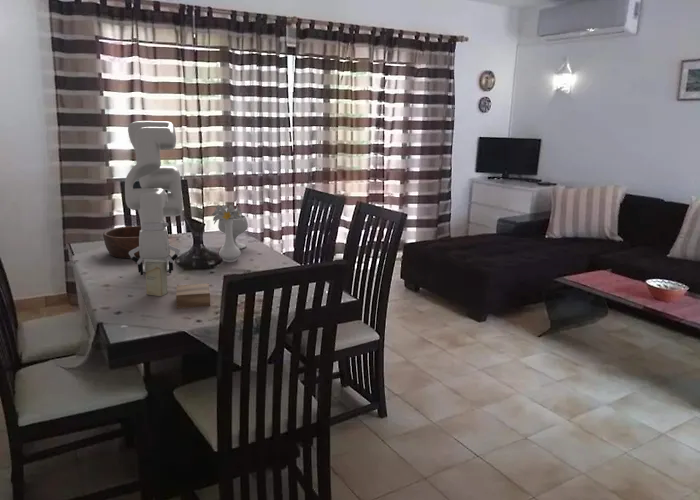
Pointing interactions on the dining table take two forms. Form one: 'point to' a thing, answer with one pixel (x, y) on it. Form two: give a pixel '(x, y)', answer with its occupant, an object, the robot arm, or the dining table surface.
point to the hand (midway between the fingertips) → (156, 273)
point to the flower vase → (228, 231)
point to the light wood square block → (193, 295)
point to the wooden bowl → (122, 241)
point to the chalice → (235, 229)
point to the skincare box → (156, 277)
